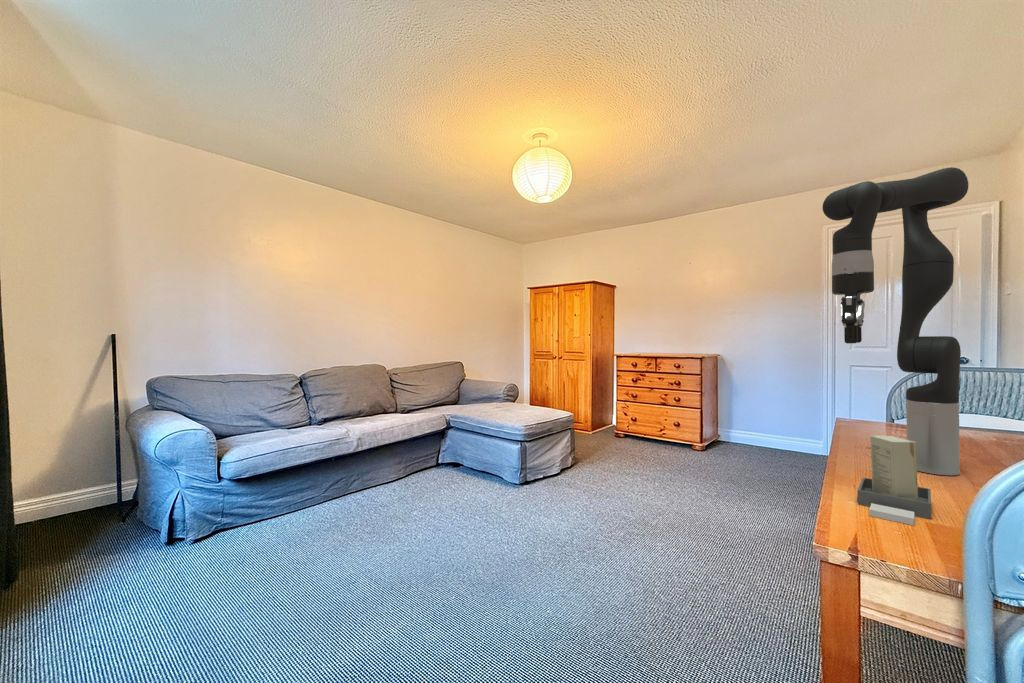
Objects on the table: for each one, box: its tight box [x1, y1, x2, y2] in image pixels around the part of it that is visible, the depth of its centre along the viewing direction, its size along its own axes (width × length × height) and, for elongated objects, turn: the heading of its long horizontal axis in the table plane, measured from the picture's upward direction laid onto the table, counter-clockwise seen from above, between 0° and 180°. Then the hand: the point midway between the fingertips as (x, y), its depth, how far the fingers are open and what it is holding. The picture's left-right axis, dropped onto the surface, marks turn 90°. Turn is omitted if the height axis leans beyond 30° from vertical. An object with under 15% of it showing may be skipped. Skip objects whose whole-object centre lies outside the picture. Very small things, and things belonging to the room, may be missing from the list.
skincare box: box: [869, 435, 919, 501], centre depth 83 cm, size 6×4×12 cm
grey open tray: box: [857, 477, 932, 526], centre depth 81 cm, size 16×10×3 cm, turn 135°
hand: (853, 343), depth 96 cm, fingers open, 8 cm apart
